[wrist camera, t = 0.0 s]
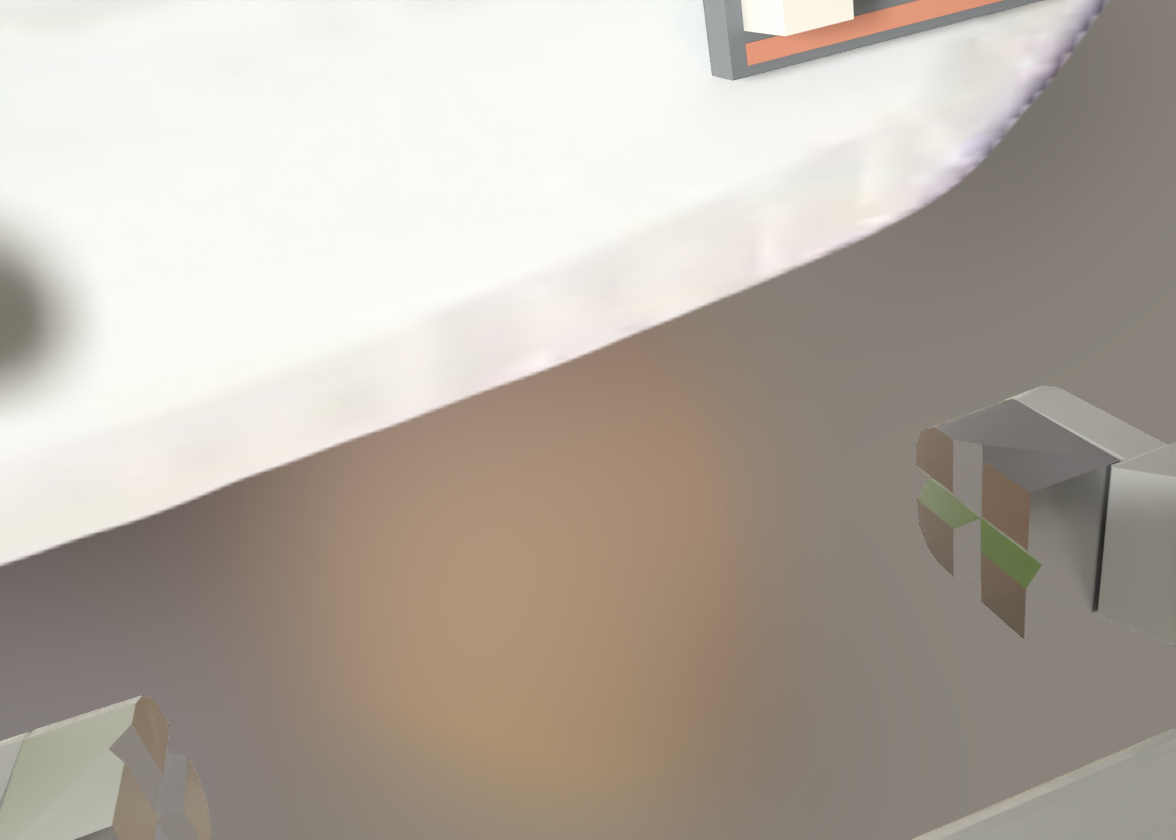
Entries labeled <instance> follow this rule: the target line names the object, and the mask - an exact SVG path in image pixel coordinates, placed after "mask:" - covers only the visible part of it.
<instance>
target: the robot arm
mask: <svg viewBox="0 0 1176 840" xmlns="http://www.w3.org/2000/svg"><path fill="white" fill-rule="evenodd" d="M916 465H917V466H918V467H919V468H920V469H921V470H922V471H923V472H924V473H925V474H926V475H927V476H928V477H929V479H928V481H927V482H926V484H925V486H924V488H923V490H922V492H921V493H920V495H919V497H918V498H917V504H918V518H919V526H920V529H921V531H922V534H923V536H924V539H925V542H926V544H927V547H928V548H929V550H930V551H931V553H932V554H933V556H934V557H935V558H936V560H937V561H938V563H939V564H940V565H941V566H942V567H943V568H944V569H945V570H946V571H948V572H949V573H950V574H951V575H952V576H953V577H955V578H958V579H962V580H965V581H969V582H972V583H976V584H979V585H980V593H981V602H982V603H983V604H984V605H985V606H986V607H988V608H989V609H990V610H991V611H992V612H993V613H994V614H996V615H997V616H998V617H999V618H1000V619H1001V620H1002V621H1003V622H1004V623H1006V624H1007V625H1008V626H1009V627H1010V628H1011V629H1012V630H1014V631H1015V632H1016V633H1017V634H1018V635H1019V636H1020V637H1022V638H1023V639H1024V640H1025V639H1028V638H1031V637H1034V636H1036V635H1039V634H1042V633H1045V632H1048V631H1050V630H1053V629H1056V628H1059V627H1061V626H1064V625H1067V624H1070V623H1072V622H1075V621H1078V620H1081V619H1084V618H1087V617H1089V616H1092V615H1095V614H1098V616H1097V618H1099V619H1102V620H1105V621H1107V622H1110V623H1113V624H1116V625H1118V626H1121V627H1123V628H1126V629H1129V630H1131V631H1134V632H1137V633H1139V634H1142V635H1145V636H1147V637H1150V638H1153V639H1155V640H1158V641H1161V642H1163V643H1166V644H1169V645H1171V646H1174V647H1176V442H1175V443H1172V444H1170V445H1166V444H1165V443H1163V442H1161V441H1159V440H1157V439H1155V438H1153V437H1151V436H1150V435H1148V434H1145V433H1144V432H1142V431H1140V430H1138V429H1136V428H1134V427H1132V426H1131V425H1129V424H1127V423H1125V422H1123V421H1121V420H1119V419H1117V418H1115V417H1113V416H1112V415H1110V414H1108V413H1106V412H1104V411H1102V410H1100V409H1098V408H1096V407H1094V406H1093V405H1091V404H1089V403H1087V402H1085V401H1083V400H1081V399H1079V398H1077V397H1075V396H1074V395H1072V394H1069V393H1068V392H1066V391H1064V390H1062V389H1060V388H1058V387H1052V386H1040V387H1038V388H1035V389H1032V390H1030V391H1027V392H1024V393H1022V394H1019V395H1016V396H1014V397H1011V398H1008V399H1006V400H1003V401H1002V402H1001V403H999V404H996V405H993V406H990V407H988V408H985V409H982V410H979V411H976V412H973V413H970V414H967V415H965V416H962V417H959V418H956V419H953V420H950V421H947V422H945V423H942V424H939V425H936V426H933V427H930V428H928V429H925V430H922V431H921V432H920V435H919V438H918V441H917V444H916ZM169 726H170V724H169V723H168V721H167V720H166V718H165V716H164V715H163V713H162V711H161V710H160V708H159V706H158V705H157V703H156V702H155V700H154V699H151V698H149V697H147V696H144V695H142V696H139V697H136V698H133V699H129V700H126V701H123V702H120V703H117V704H114V705H111V706H108V707H104V708H101V709H98V710H95V711H92V712H89V713H86V714H82V715H80V716H76V717H73V718H70V719H67V720H64V721H61V722H57V723H55V724H51V725H48V726H45V727H42V728H39V729H35V730H34V731H33V732H28V733H24V734H21V735H18V736H15V737H12V738H9V739H6V740H3V741H0V840H211V825H210V818H209V811H208V805H207V799H206V796H205V793H204V790H203V788H202V785H201V782H200V779H199V776H198V774H197V773H196V771H195V769H194V767H193V765H192V763H191V762H190V760H189V758H188V757H185V756H183V755H180V754H178V753H176V752H173V751H171V750H168V749H167V742H168V734H169ZM912 840H1176V728H1173V729H1171V730H1169V731H1166V732H1164V733H1162V734H1159V735H1157V736H1155V737H1152V738H1150V739H1147V740H1145V741H1143V742H1140V743H1138V744H1136V745H1133V746H1131V747H1129V748H1126V749H1124V750H1121V751H1119V752H1117V753H1114V754H1112V755H1110V756H1107V757H1105V758H1103V759H1100V760H1098V761H1096V762H1093V763H1091V764H1088V765H1086V766H1084V767H1081V768H1079V769H1077V770H1074V771H1072V772H1070V773H1067V774H1065V775H1062V776H1061V777H1058V778H1056V779H1053V780H1051V781H1048V782H1046V783H1044V784H1041V785H1039V786H1037V787H1034V788H1032V789H1029V790H1027V791H1025V792H1023V793H1020V794H1018V795H1016V796H1013V797H1011V798H1008V799H1006V800H1004V801H1001V802H999V803H996V804H994V805H992V806H989V807H987V808H985V809H982V810H980V811H978V812H975V813H973V814H971V815H968V816H966V817H964V818H961V819H959V820H956V821H954V822H952V823H949V824H947V825H945V826H942V827H940V828H938V829H935V830H933V831H930V832H928V833H926V834H923V835H921V836H919V837H916V838H914V839H912Z"/></svg>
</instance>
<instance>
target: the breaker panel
mask: <svg viewBox="0 0 1176 840" xmlns="http://www.w3.org/2000/svg"><path fill="white" fill-rule="evenodd" d="M1038 1H1042V0H703V3H704V12H705V20H706V28H707V37H708V45H709V53H710V61H711V70H712V76H717V77H721V78H725V79H729V80H737V79H741V78H745V77H748V76H752V75H756V74H760V73H764V72H768V71H772V70H776V69H779V68H783V67H787V66H791V65H795V64H799V63H803V62H806V61H810V60H814V59H818V58H822V57H826V56H830V55H833V54H837V53H841V52H845V51H849V50H853V49H857V48H860V47H864V46H868V45H872V44H876V43H880V42H884V41H887V40H891V39H895V38H899V37H903V36H907V35H911V34H914V33H918V32H922V31H926V30H930V29H934V28H938V27H941V26H945V25H949V24H953V23H957V22H961V21H965V20H968V19H972V18H976V17H980V16H984V15H988V14H992V13H996V12H999V11H1003V10H1007V9H1011V8H1015V7H1019V6H1023V5H1026V4H1030V3H1034V2H1038Z"/></svg>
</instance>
